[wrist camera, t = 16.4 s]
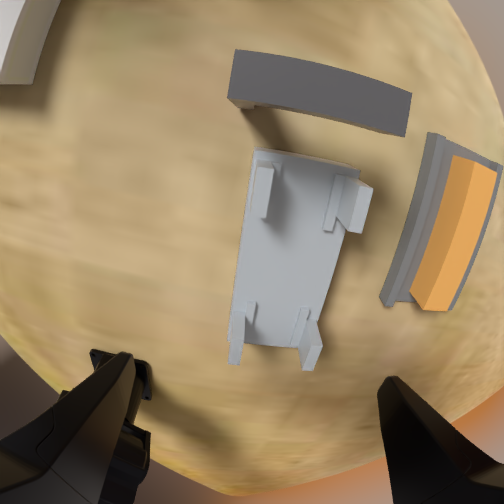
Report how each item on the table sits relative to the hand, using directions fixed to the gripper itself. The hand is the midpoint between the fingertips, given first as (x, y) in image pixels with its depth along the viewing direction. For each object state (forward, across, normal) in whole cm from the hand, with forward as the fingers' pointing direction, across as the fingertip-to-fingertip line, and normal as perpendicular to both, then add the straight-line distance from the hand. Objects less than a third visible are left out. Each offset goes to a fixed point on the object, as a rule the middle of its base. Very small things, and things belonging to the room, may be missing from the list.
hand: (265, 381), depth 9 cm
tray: (+13, -15, -3) cm, 20 cm away
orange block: (+13, -15, -3) cm, 20 cm away
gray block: (+13, -1, -9) cm, 16 cm away
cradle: (+13, -2, +1) cm, 13 cm away
